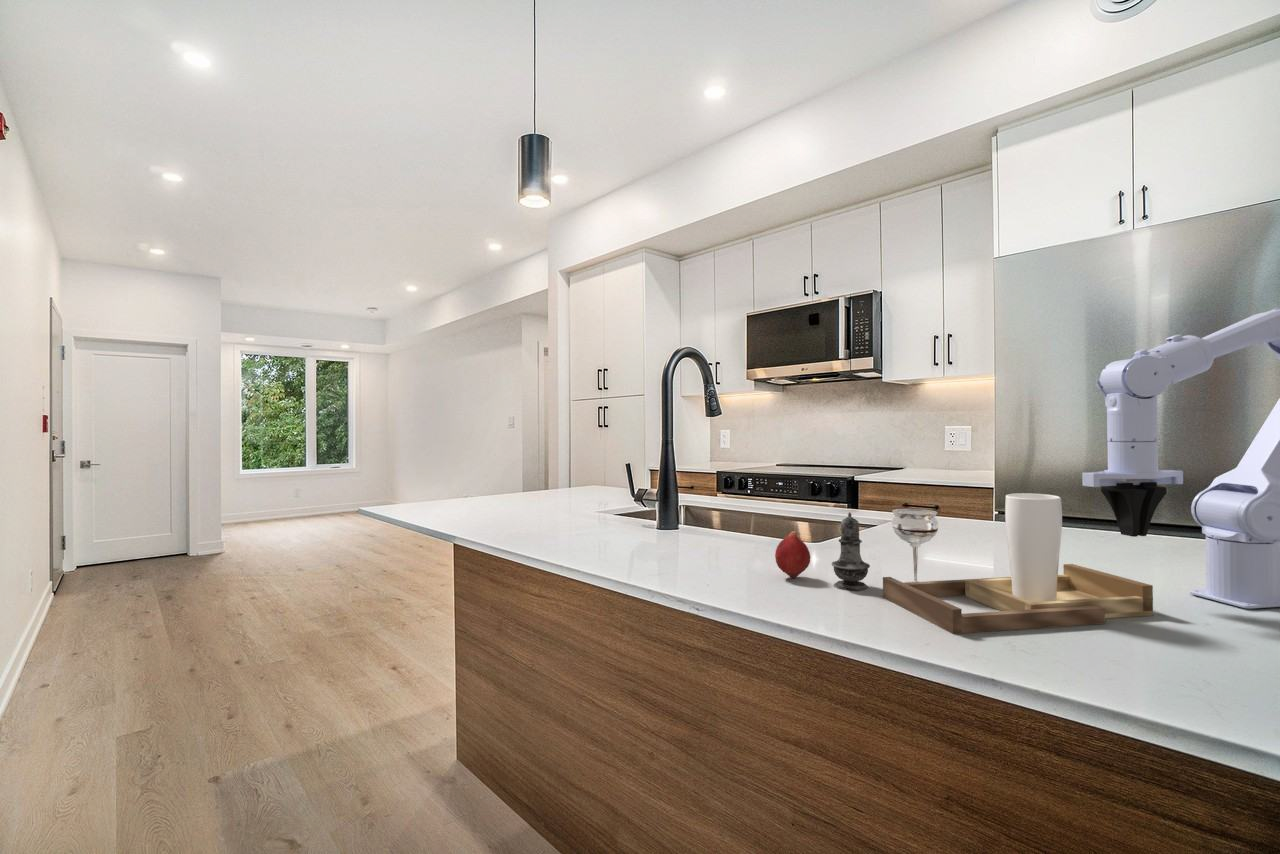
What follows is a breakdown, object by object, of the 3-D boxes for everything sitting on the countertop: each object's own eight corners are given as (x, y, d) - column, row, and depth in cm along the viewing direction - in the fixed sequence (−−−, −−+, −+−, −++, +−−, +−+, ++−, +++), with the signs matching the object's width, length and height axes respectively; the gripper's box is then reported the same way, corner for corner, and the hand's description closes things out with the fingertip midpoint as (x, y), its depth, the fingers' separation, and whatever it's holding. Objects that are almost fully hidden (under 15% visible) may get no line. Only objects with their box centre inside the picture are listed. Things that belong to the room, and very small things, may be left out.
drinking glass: (1072, 610, 83) (1071, 499, 83) (1017, 608, 85) (1016, 499, 84) (1049, 595, 90) (1048, 493, 90) (998, 594, 91) (997, 493, 91)
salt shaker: (871, 583, 101) (870, 510, 101) (868, 592, 96) (867, 515, 96) (834, 580, 103) (833, 509, 103) (829, 589, 98) (828, 513, 98)
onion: (776, 581, 103) (775, 534, 103) (774, 573, 109) (773, 528, 109) (812, 582, 102) (811, 534, 102) (808, 574, 108) (807, 528, 108)
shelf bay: (1011, 589, 96) (1010, 570, 96) (1104, 623, 80) (1104, 600, 80) (883, 597, 93) (882, 577, 93) (952, 633, 77) (952, 609, 77)
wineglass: (898, 579, 104) (897, 507, 104) (943, 584, 100) (941, 510, 100) (888, 588, 98) (887, 512, 98) (934, 594, 94) (933, 515, 94)
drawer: (1072, 589, 95) (1072, 563, 95) (1153, 615, 82) (1152, 585, 82) (965, 596, 93) (964, 569, 93) (1030, 623, 80) (1030, 592, 80)
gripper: (1149, 439, 94) (1151, 528, 94) (1064, 441, 92) (1065, 532, 92) (1197, 440, 87) (1198, 536, 87) (1106, 443, 85) (1107, 541, 85)
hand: (1133, 535), depth 89 cm, fingers closed
